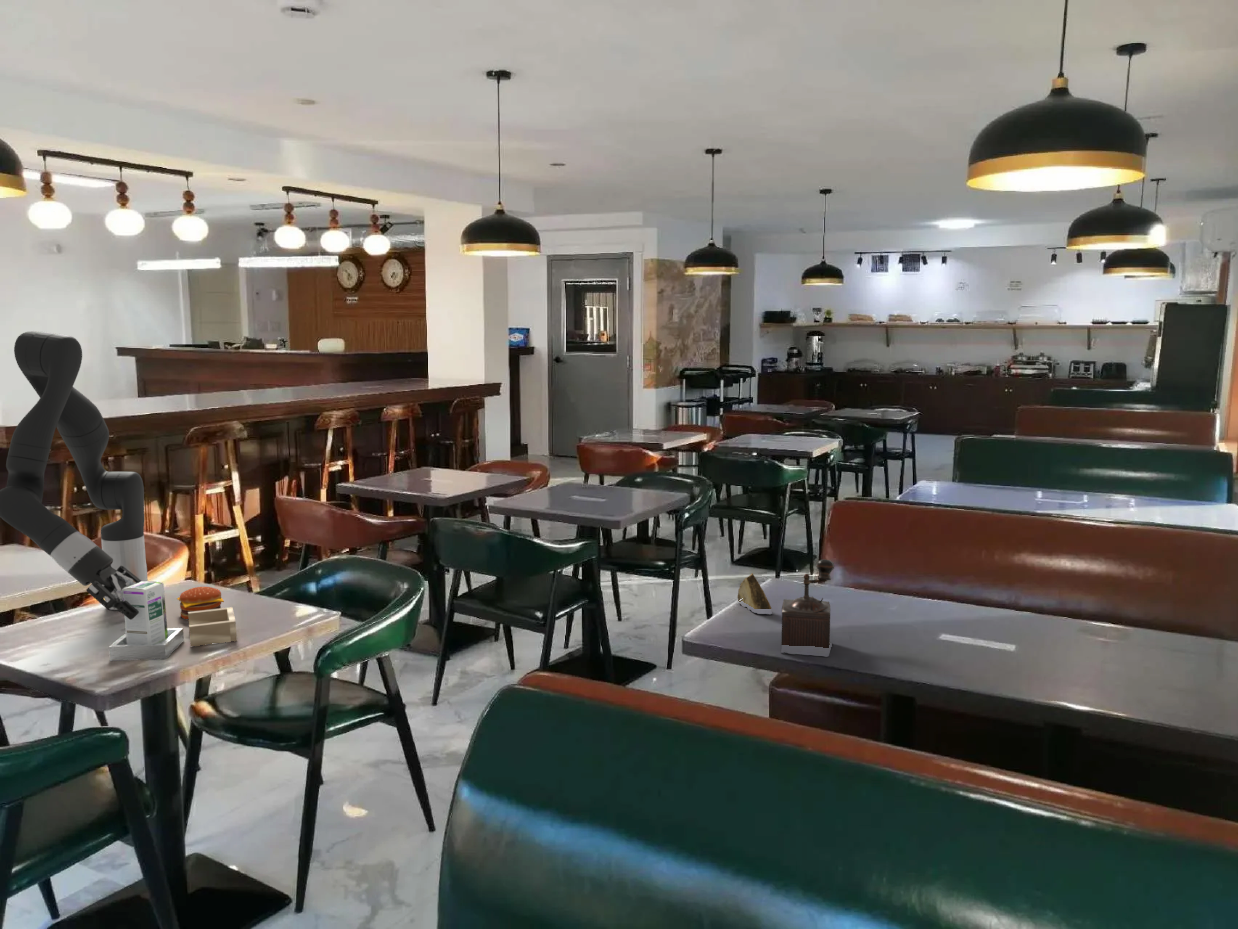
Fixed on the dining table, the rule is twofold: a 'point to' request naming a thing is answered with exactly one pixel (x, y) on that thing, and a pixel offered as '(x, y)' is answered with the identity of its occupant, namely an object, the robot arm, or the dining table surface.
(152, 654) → the gray rectangular tray
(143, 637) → the syrup box
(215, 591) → the hamburger
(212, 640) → the cradle
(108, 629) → the dining table surface
